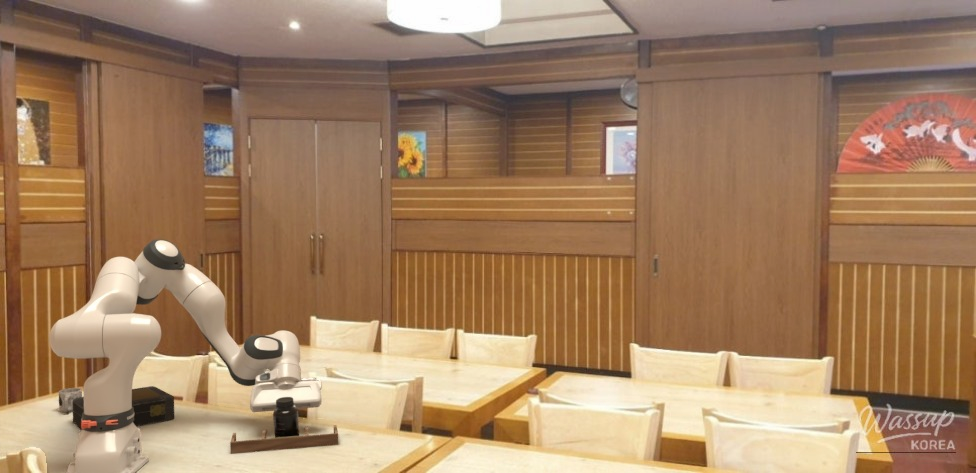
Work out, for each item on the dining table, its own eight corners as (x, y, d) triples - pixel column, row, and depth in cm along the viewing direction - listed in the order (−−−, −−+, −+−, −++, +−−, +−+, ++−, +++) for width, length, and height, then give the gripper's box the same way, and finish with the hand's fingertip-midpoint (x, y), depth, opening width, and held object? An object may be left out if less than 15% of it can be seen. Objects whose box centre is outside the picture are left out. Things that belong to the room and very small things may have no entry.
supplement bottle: (285, 434, 214) (283, 394, 212) (304, 437, 211) (302, 397, 210) (269, 442, 208) (267, 401, 206) (288, 446, 205) (286, 404, 203)
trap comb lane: (338, 444, 206) (338, 434, 206) (230, 453, 199) (230, 442, 199) (334, 425, 224) (334, 416, 224) (235, 433, 217) (235, 423, 216)
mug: (62, 408, 245) (61, 388, 245) (84, 406, 247) (83, 387, 247) (54, 416, 235) (53, 395, 235) (77, 414, 237) (76, 394, 237)
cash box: (154, 407, 247) (154, 384, 246) (176, 420, 232) (175, 395, 231) (71, 422, 230) (70, 397, 230) (88, 436, 215) (88, 410, 215)
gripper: (321, 383, 225) (323, 423, 216) (251, 388, 220) (250, 430, 211) (321, 371, 221) (323, 412, 212) (250, 376, 216) (249, 419, 207)
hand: (286, 421), depth 211 cm, fingers closed
